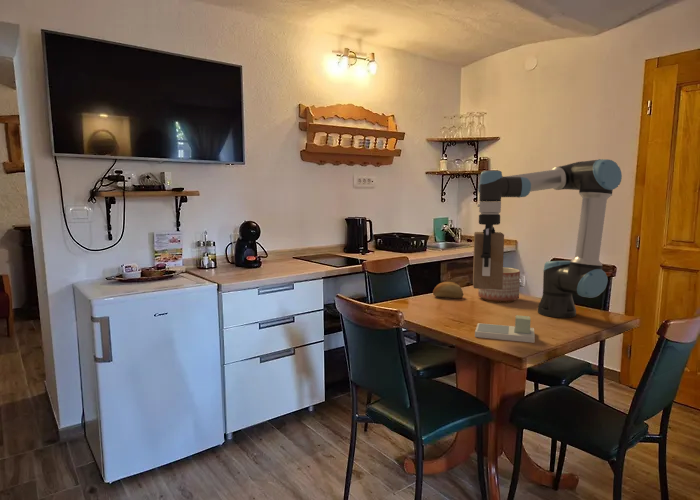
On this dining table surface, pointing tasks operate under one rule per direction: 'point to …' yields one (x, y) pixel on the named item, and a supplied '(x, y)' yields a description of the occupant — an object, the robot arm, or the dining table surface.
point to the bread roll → (448, 290)
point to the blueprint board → (503, 333)
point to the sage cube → (522, 324)
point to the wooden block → (496, 262)
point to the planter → (504, 288)
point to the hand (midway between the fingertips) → (487, 273)
